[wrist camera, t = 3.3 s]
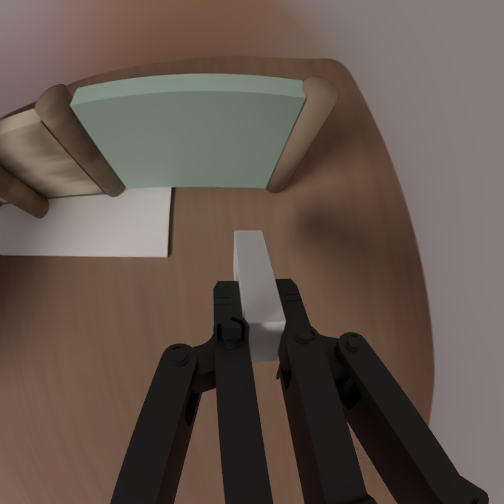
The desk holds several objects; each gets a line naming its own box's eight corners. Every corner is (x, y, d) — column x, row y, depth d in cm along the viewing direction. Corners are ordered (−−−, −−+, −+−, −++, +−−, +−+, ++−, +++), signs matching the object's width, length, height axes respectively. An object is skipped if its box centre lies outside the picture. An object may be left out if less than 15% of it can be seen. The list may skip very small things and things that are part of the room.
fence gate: (127, 192, 20) (66, 107, 9) (130, 173, 21) (77, 81, 10) (285, 193, 22) (342, 106, 11) (284, 173, 22) (335, 80, 11)
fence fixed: (-10, 222, 18) (-84, 185, 7) (-3, 190, 19) (-71, 144, 7) (122, 214, 21) (48, 137, 9) (127, 174, 21) (71, 80, 9)
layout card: (-17, 254, 18) (-19, 254, 18) (18, 118, 21) (17, 116, 21) (167, 257, 21) (166, 256, 20) (184, 89, 24) (184, 87, 23)
